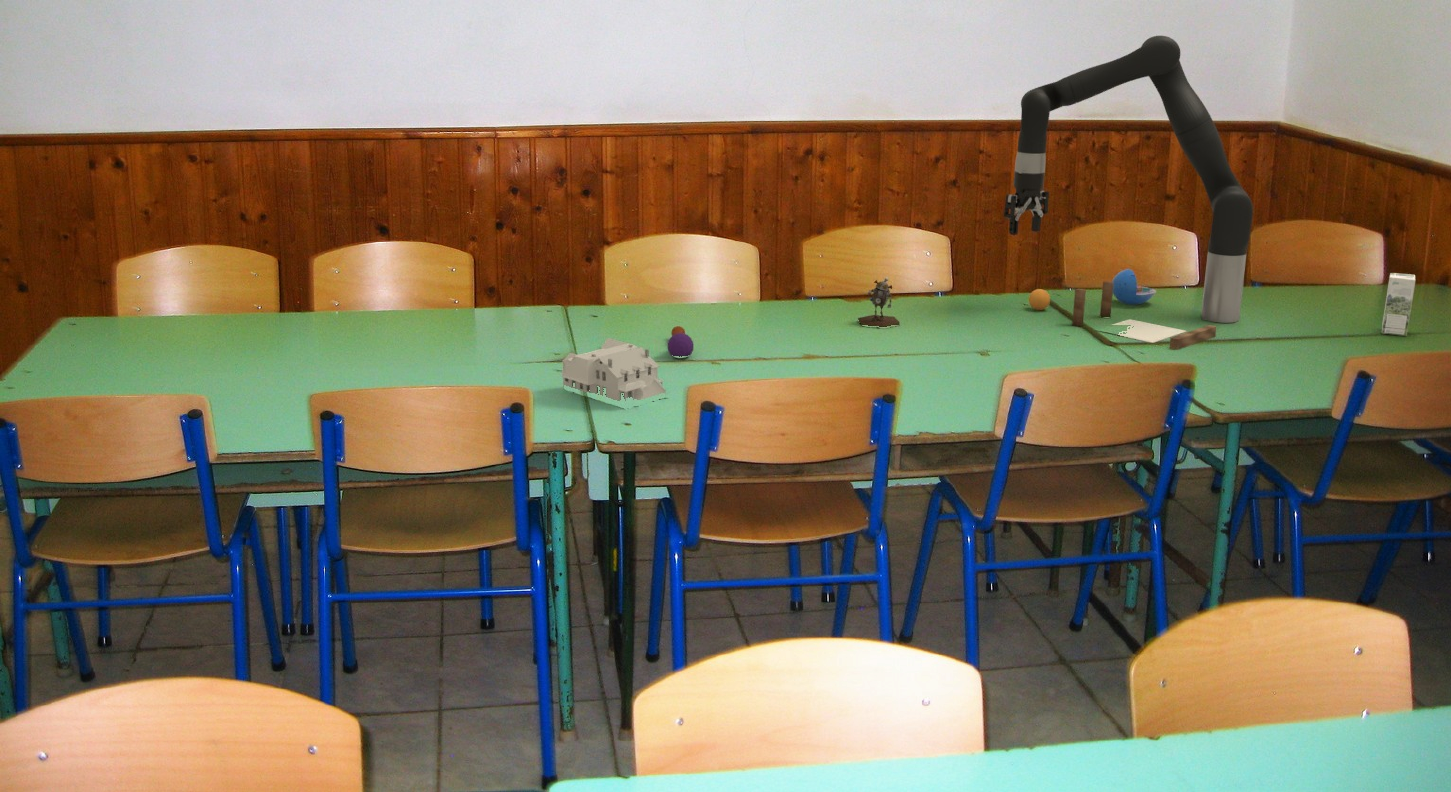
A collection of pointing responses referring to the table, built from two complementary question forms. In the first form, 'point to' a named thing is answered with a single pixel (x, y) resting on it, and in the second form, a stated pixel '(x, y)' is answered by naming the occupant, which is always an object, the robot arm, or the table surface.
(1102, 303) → the post far
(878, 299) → the robot figurine
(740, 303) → the table surface
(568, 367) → the house model
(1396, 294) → the syrup box
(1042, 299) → the ball
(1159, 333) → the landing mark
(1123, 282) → the cell model
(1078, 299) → the post near
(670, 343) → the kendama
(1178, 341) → the wall
